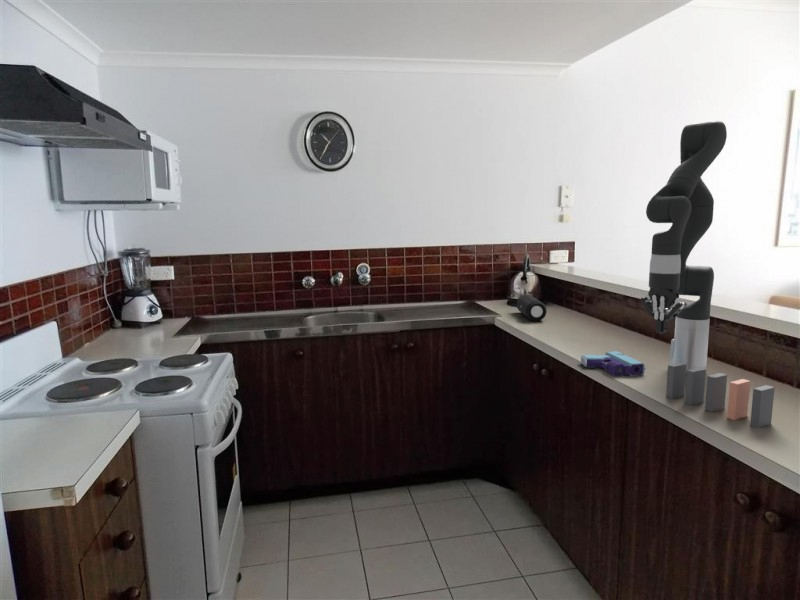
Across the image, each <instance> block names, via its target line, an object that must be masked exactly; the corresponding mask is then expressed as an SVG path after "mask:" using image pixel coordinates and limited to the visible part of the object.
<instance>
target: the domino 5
mask: <svg viewBox="0 0 800 600" xmlns="http://www.w3.org/2000/svg"><path fill="white" fill-rule="evenodd" d="M774 398H775V387H774V386H772V385H768V384H765V385H761V386H758V387H754V388H752V401H751V411H750V412H751V413H750V422H749V425H750V426H751V427H754V428H756V429H759V428H763V427H767V426H769V425H771V424H772V420H773V406H774V400H775V399H774Z"/></svg>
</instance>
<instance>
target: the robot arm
mask: <svg viewBox="0 0 800 600" xmlns="http://www.w3.org/2000/svg"><path fill="white" fill-rule="evenodd" d="M727 134H728V133H727V126H726V124H725V123H724V122H723V121H722V120H711V121H703V122H696V123H689V124H686V125H685V126H684V127H683V129H682V131H681V134H680V144H679V145H680V146H679V147H680V148H679V149H680V153H679V154H680V164H679V165H678V166H677V167H676V168H675V169H674V170H673V171H672V173H671V174H670V176H669V177H668V180H667V182H666V184H665V185H664V186H663V187H662V188H661V189H660V190H658V191H657V193H655V194H654V195H653V196H652V197H651V198H650V200H649V202H648V203H647V205H646V209H645V214H646V218H647V219H648V221H650V222H651V223H653V224H671V226H670V228H669V229H667V230H665V231H659V232H656V233H654V234H653V236H652V239H651V240H652V241H651V255H650V256H651V257H650V261H649V274H648V287H649V291H648V293H647V295H645V297H644V296H643V297H641V298H640V301H641V303H642V305H643V306H644V309H645V310H646V312H647V314H648V316H650V317H653V318H654V320H655V325H654V326H655V327H654V330H655V332H656V334H661V335H663V334H666V333H667V332H668V328H669V320H673V319H675V322H674V323H675V324H674V325H675V326H674V337H673V338H672V339H670V340H671V341H670V352H669V353H670V354H669V365H670V364H675V363H680V362H681V363H685V364H686V375H687V370H690V369H695V368H699V367H700V368H704V369H706V370H707V359H708V349H709V347H708V346H709V335H710V320H711V319H710V318H711V305H712V304H711V303H712V297H713V295H712V294H713V289H714V283H715V282H714V280H715V272H714V268H713V267H712V266H709V265H707V266H706V265H687V261H688V258H689V256H690V254H691V253H692V251H693V249H694V248H695V246H696V245H697V243H698V242H699V241H700V240H701V239H702V238H703V236H704V235H705V234H706V232H708V230H709V228H710V227H711V226H712V224H713V221H714V205H715V204H714V203H715V201H714V200H715V199H714V196H713V194H712V193H711V191H710V189H709V188H708V186H707V185H706V183H705V182H704V181H703V178H701V177H702V176H703V174H704V173H705V172H706V171H707V169H708V168H709V167H710V166H711V164H713V162H714V161H715V159H716V158H717V157H718V156H719V155H720V154H721V152H722V150H723V149H724V147H725V145H726V142H727V137H728V136H727ZM680 296H689V297H690V296H692V297H699V298H698V299H697V300H696V301H694V302H692V303H689V304H687V302H686V301H682V300H681V299H680Z"/></svg>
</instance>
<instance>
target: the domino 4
mask: <svg viewBox="0 0 800 600" xmlns="http://www.w3.org/2000/svg"><path fill="white" fill-rule="evenodd" d="M750 388H751V380H748V379H745V378H741V379H736V380H733V381H730V382H729V391H728V400H727V401H728V402H727V415H726V418H727V419H730V420H732V421H737V420H739V419H744V418H746V417H748V411H749V399H750Z"/></svg>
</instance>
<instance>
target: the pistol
mask: <svg viewBox="0 0 800 600" xmlns="http://www.w3.org/2000/svg"><path fill="white" fill-rule="evenodd" d="M580 363H581V364H582V365H583V367H585V368H594V367H602V368H603V369H604V370H605V371H606V373H608V372H609V374H610V375H613V376H614V377H620V376H621V375H623V376H624V375H628V376H630V377H631V376H634V377H635V376H636V377H637V376H643V375H645V370H646V367H645V364H644V363H643V362H642V361H640V360H637V359H635V358H632V357H630V356H629V355H626V354H624V353H622V352H620V351H616V350H615V351H607V352H606V353H605V355H599V354H585V355H580ZM621 377H622V376H621Z"/></svg>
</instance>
